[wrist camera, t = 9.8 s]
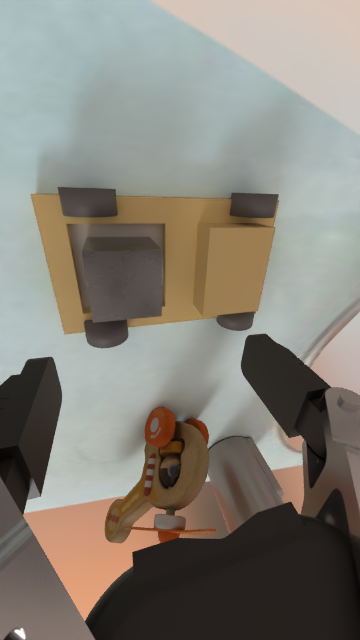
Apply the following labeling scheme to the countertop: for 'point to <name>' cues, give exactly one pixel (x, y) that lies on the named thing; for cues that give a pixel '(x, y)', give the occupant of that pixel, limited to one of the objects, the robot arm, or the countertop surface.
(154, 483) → the toy helicopter
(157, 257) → the block
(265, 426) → the countertop surface
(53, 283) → the chassis
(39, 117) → the countertop surface
